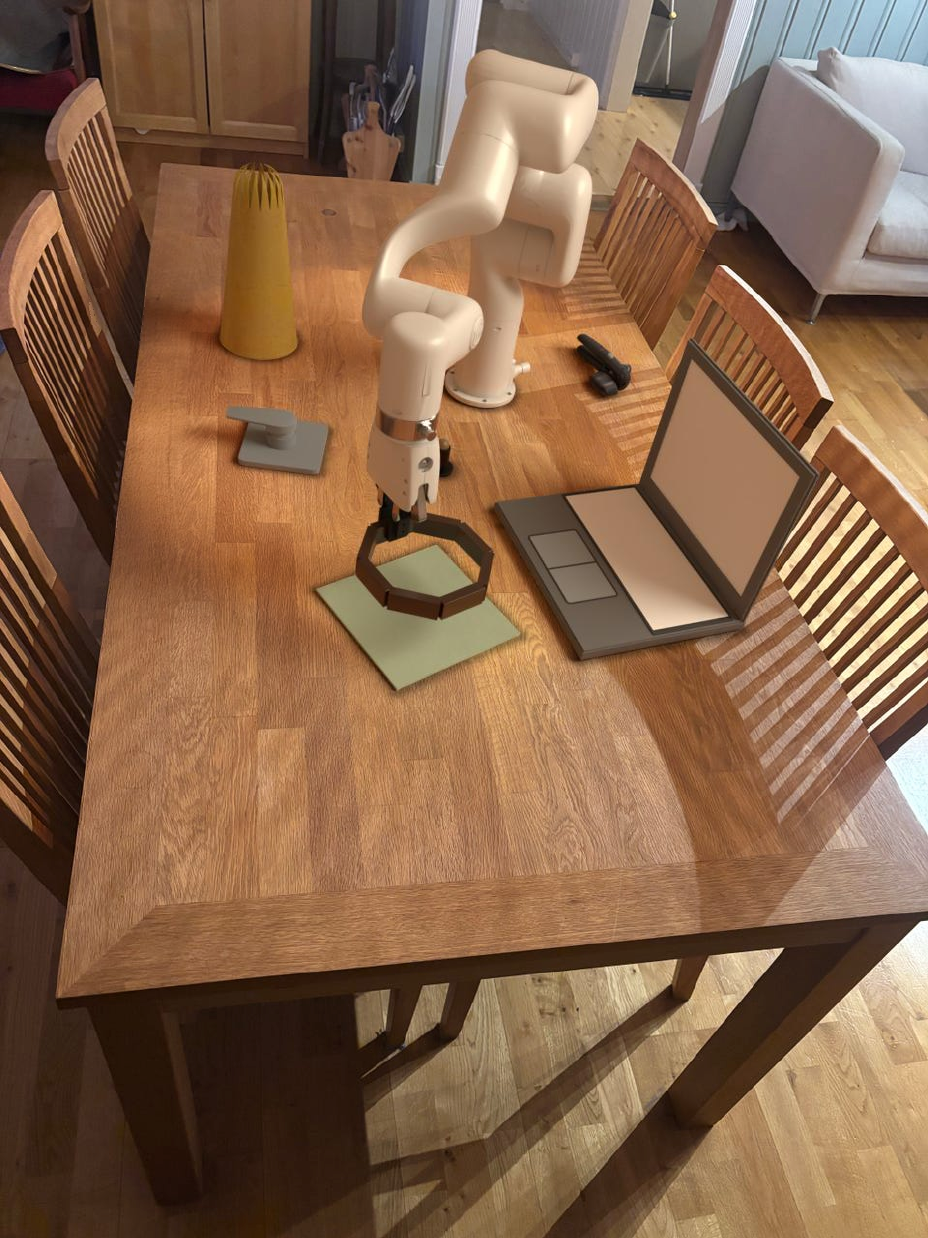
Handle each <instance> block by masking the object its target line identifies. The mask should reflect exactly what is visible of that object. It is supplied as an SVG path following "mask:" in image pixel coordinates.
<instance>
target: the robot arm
mask: <svg viewBox="0 0 928 1238" xmlns="http://www.w3.org/2000/svg"><path fill="white" fill-rule="evenodd" d="M464 88H465V94H466V98H465V100H464V102H463V106H462V108H461V112H460V114H459V118H458V121H457V125H456V128H455V131H454V134H453V136H452V140H451V144H450V147H449V150H448V153H447V157H446V160H445V163H444V166H443V169H442V172H441V175H440V179H439V182H438V186H437V189H436V192H435V193H434V195H433V196H432V197H431V198H429V200H427V201H425V202H423V203H422V204H420V205H419V206H417V207H416V208H414V209H412V210H411V211H410V212H409V213H408V214H406V215H405V216H404V217H403V218H402V219H401V220H399V222H397V223H396V225H395V226H394V227H393V228H392V229H391V230H390V231H389V233H388V234H387V235H386V236H385V239H384V240H383V241H382V243H381V245H380V247H379V250H378V252H377V255H376V258H375V261H374V264H373V266H372V270H371V273H370V276H369V280H368V282H367V286H366V290H365V292H364V297H363V301H362V307H361V320H362V325H363V327H364V329H365V332H367V333H368V334H369V335H370V336H371V337H373V338H374V339H376V340H380V341H382V343H381V352H380V363H379V364H380V365H379V375H378V383H377V385H378V386H377V394H376V404H375V405H376V406H375V415H374V417H373V421H372V424H371V428H370V432H369V437H368V443H367V449H366V472H367V474H368V476H369V477H370V479H371V480H372V481H373V482H374V483H375V487H376V490H377V497H376V501H377V504H378V506H379V509H378V516H377V521H380V520H383V519H386V518H388V525H387V526H388V527H387V535H386V540H387V541H386V542H388V543H392V542H394V541H397V540H400V539H403V538H406V537H408V535H409V534H410V533H409V526H410V518H411V520H413V521H415V522H417V523H419V522H422V521H425V520H427V513H428V512H427V504H429V506H430V505H434V504H435V503H436V501H437V497H438V490H439V481H440V477H439V468H440V449H439V440H440V438H439V437H438V436H437V430H438V423H439V416H440V411H441V406H442V405H441V404H442V398H443V391H444V387H445V390H446V391H447V392H448V393H447V394H449V395H450V396H451V397H452V398H454V399H455V400H457V401H458V402H461V403H463V404H465V405H468V406H471V407H475V408H481V409H493V408H499V407H503V406H505V405H507V404H509V403H510V402H512V400H513V399H514V397H515V395H516V390H517V389H516V384H515V382H514V379H515V378H517V377H518V376H519V375H524V374H527V373H530V371H531V365H530V363H529V362H528V361H523V362H519V363H517V361H516V359H515V357H514V355H515V350H516V345H517V341H518V336H519V331H520V326H521V320H522V317H523V313H524V306H525V297H524V290H523V288H522V285H521V282H520V280H523V281H527V282H530V283H534V284H538V285H542V286H545V287H551V288H563V287H566V286H567V285H569V284H570V283H571V281H572V280H573V278H574V277H575V274H576V272H577V270H578V267H579V263H580V260H581V255H582V250H583V244H584V239H585V235H586V230H587V225H588V220H589V215H590V211H591V210H590V209H591V203H592V196H593V179H592V176H591V174H590V172H589V171H588V169H587V168H586V167H584V166H583V165H581V164H579V163H576V162H575V161H576V159H577V157H578V155H579V154H580V152H581V150H582V148H583V146H584V145H585V143H586V141H587V140H588V138H589V136H590V134H591V132H592V130H593V127H594V124H595V122H596V118H597V114H598V109H599V99H600V95H599V90H598V86H597V84H596V82H595V81H594V79H592V78H591V77H589V76H587V75H586V74H583V73H580V72H575V71H573V70H568V69H563V68H560V67H556V66H552V65H549V64H543V63H541V62H538V61H533V60H530V59H527V58H523V57H518V56H514V55H511V54H506V53H503V52H501V51H499V50H496V49H492V48H491V49H489V48H488V49H484V50H481V51H478V52H477V53H475V54H474V55H473V56H472V58H470V60H469V62H468V64H467V67H466V71H465V78H464ZM466 237H470V240H469V241H470V243H469V244H470V250H469V251H470V253H469V254H470V255H469V256H470V265H469V267H470V268H469V281H468V288H467V294H466V295H464V294H462V293H457V292H454V291H451V290H450V291H449V290H446V289H442V288H439V287H437V286H432V285H430V284H425V283H422V282H418V281H414V280H411V279H407V278H404V277H400V275H401V272H402V270H403V268H404V266H405V265H406V263H407V262H408V261H409V260H410V258H412V257H413V256H414V255H415V254H417V253H418V252H420V251H421V250H423V249H425V248H428V247H429V246H433V245H435V244H438V243H442V242H448V241H452V240H456V239H461V238H466ZM516 363H517V364H516ZM453 365H456V366H454V367H452V366H453ZM451 367H452V368H451ZM449 368H451V369H449ZM448 369H449V370H448ZM447 370H448V371H447ZM446 371H447V373H446ZM426 502H427V503H426ZM408 533H409V534H408Z"/></svg>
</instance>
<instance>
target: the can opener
mask: <svg viewBox="0 0 928 1238" xmlns="http://www.w3.org/2000/svg"><path fill="white" fill-rule="evenodd" d="M576 339H577V341H578V342H579V343H580V344H579V345H578V346H577V347H576V349H575V351H576V352H577V354H578V355H579V356H580V357H581V358H582V359H583V360H584V361H585V362H586V363H588V364H589V365H590V366H591V367H593V368H594V369H595V370H596V371H597V372H595V373H594V374H592V375H590V376H589V378H588V379H589V382H590V385H591V386H592V388H593V389H594V390H595V391H596V392H597V393H599V394H600V395H602V396H605V397H606V396H613V395H617V394H618V392H621V391H624V390H626V389H627V388H628V386H629V385H630V382H631V380H632V377H631V374H632V365H631V364H627V363H625V364H624V363H621V362H620V361H619V360H618V359H617V358H616V356H615V355H614V354H613V353H612V352H610V350H608V349H607V348H606V347H605V346H604V345H603V344H601V343H600V342H598V341H597V340H595V339H594V338H592V337H591V336H589V335H588V334H586V333H579V334H578V335H577V337H576Z"/></svg>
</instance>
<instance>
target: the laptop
mask: <svg viewBox="0 0 928 1238" xmlns="http://www.w3.org/2000/svg"><path fill="white" fill-rule="evenodd" d="M820 476H821V473H820V472H819V471H818V470H817V469H816V468H815V467H814V466H813V464H811V462H810V461H809V460H808V459H807V458H806V457H805V456H804V454H802V453H801V452H800V451H799V449H798V448H797V447H796V446H795V445H794V444H793V443H792V442H791V441H790V440H789V439H788V437H786V436H785V435H784V433H783V432H782V431H781V430H780V429H779V428H778V427H777V426H776V425H775V424H774V423H773V422H772V421H771V420H770V418H769V417H768V416H767V415H765V413H764V412H763V411H762V410H761V409H760V408H759V407H758V405H757V404H755V403H754V401H753V400H752V399H751V398H750V397H749V396H748V395H747V394H746V393H745V392H744V390H742V388H740V387H739V385H738V384H737V383H736V382H735V381H734V380H733V378H731V377H730V376H729V374H728V373H726V371H724V370H723V368H722V367H721V366H720V365H719V364H718V362H717V361H716V360H714V358H713V357H712V356H710V355H709V353H708V352H707V351H706V350H705V349H704V348H703V347H702V346H701V345H700V344H699V343H698V342H697V341H696V340H695V338H693V337H690V339H687V342H686V345H685V348H684V351H683V354H682V356H681V360H680V362H679V365H678V368H677V371H676V373H675V377H674V380H673V383H672V386H671V388H670V391H669V395H668V397H667V400H666V403H665V406H664V409H663V411H662V414H661V416H660V420H659V423H658V426H657V428H656V432H655V434H654V438H653V441H652V442H651V446H650V450H649V452H648V455H647V458H646V460H645V464H644V466H643V470H642V472H641V475H640V478H639V481H638V483H632V484H624V485H616V486H615V485H614V486H607V487H599V488H593V489H584V490H576V491H568V492H561V493H553V494H544V495H537V496H529V497H521V498H514V499H513V498H512V499H504V500H497V501H495V502H494V505H493V510H494V512H495V514H496V516H497V517H498V520H499V521H500V522H501V524H502V526H503V528H504V529H505V532H506V533H507V534H508V536H509V538H510V540H511V542H512V543H513V545H514V547H515V548H516V550H517V552H518V554H519V556H520V557H521V559H522V561H523V562H524V564H525V566H526V568H527V569H528V571H529V573H530V575H531V576H532V578H533V580H534V582H535V584H536V586H538V589H539V590H540V592H541V594H542V596H543V597H544V599H545V600H546V602H547V604H548V606H549V607H550V610H551V611H552V613H553V615H554V617H555V618H556V620H557V621H558V623H559V625H560V627H561V629H562V630H563V632H564V634H565V636H566V637H567V639H568V641H569V642H570V644H571V646H572V648H573V649H574V651H575V653H576V654H577V656H578V658H579V660H580V661H584V660H588V659H589V660H590V659H594V658H600V657H605V656H609V655H616V654H620V653H625V652H630V651H635V650H641V649H647V648H652V647H657V646H661V645H667V644H671V643H677V642H681V641H687V640H692V639H698V638H702V637H708V636H713V635H718V634H719V635H720V634H724V633H728V632H733V631H739V630H743V629H744V628H745V625H746V624H747V619H748V618H749V616H750V614H751V612H752V609H753V608H754V606H755V604H756V602H757V600H758V598H759V595H760V594H761V592H762V590H763V588H764V586H765V584H766V582H767V580H768V578H769V576H770V574H771V572H772V570H773V568H774V567H775V565H776V563H777V560H778V559H779V557H780V554H781V552H782V550H783V548H784V547H785V545H786V543H787V540H788V538H789V537H790V535H791V533H792V531H793V529H794V527H795V525H796V523H797V521H798V519H799V517H800V516H801V513H802V511H803V509H804V507H805V505H806V504H807V501H808V500H809V497H810V496H811V493H812V491H813V489H814V488H815V485H816V483H817V482H818V480H819V478H820Z"/></svg>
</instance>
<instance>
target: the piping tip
mask: <svg viewBox="0 0 928 1238" xmlns="http://www.w3.org/2000/svg"><path fill="white" fill-rule="evenodd" d="M251 164H252V165H251ZM255 164H256V162H253V163H252V162H249V163H247V164H244V165H242V166H241V167H239V169H238V170H237V171H236V173H235V175H234V177H233V182H232V183H233V184H232V194H231V195H232V196H231V206H230V207H231V208H230V220H229V233H228V242H227V243H228V245H227V258H226V267H225V268H226V270H225V282H224V291H223V293H224V294H223V303H222V304H223V305H222V317H221V327H220V331H219V342H220V343H221V345H222V346H223V347H224V348H225V349H226V350H227V351H229V352H230V353H232V354H234V355H236V356H239V357H242V358H245V359H251V360H259V361H268V360H275V359H280V358H283V357H286V356H288V355H290V354H292V353H294V352H295V350H296V349H297V347H298V344H299V338H298V335H297V328H296V319H295V308H294V296H293V284H292V283H293V282H292V274H291V262H290V251H289V238H288V227H287V216H286V214H287V213H286V203H285V193H284V185H283V180H282V177H281V176H280V174H279V172H277V170H276V169H274V168H273V167H272V166H270V165H268V164H266V163H264V166H266V169H267V172H265V170H264V166H263V164H262V163H261V162H259V168H258V171H256V168H255V167H256V165H255ZM249 165H251V166H250V169H248V167H249ZM248 171H249V175H248V176H247V173H248ZM265 174H266V176H267V184H266V176H265ZM240 175H241V176H240ZM274 180H275V181H274Z"/></svg>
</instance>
